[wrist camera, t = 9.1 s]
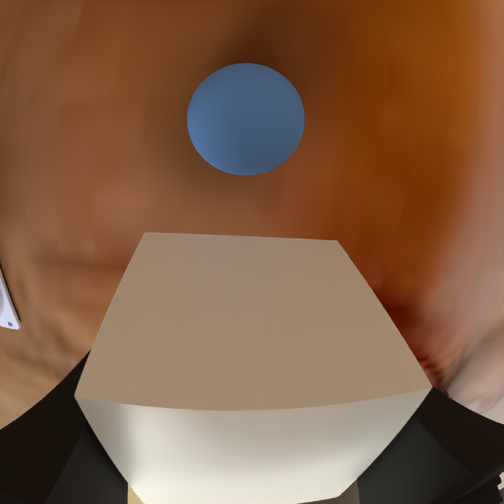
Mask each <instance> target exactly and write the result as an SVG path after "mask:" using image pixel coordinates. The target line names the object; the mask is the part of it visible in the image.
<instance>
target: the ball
mask: <svg viewBox="0 0 504 504" xmlns="http://www.w3.org/2000/svg"><path fill="white" fill-rule="evenodd" d="M304 123H305V115H304V108H303V104H302V101H301V98H300V96H299V94H298V92H297V90H296V89H295V88H294V86H293V85H292V84H291V82H290V81H289V80H288V79H286V78H285V77H284V76H283V75H282V74H280V73H279V72H277V71H275V70H273V69H271V68H269V67H266V66H263V65H259V64H254V63H239V64H233V65H229V66H226V67H223V68H221V69H219V70H217V71H215V72H213V73H212V74H211V75H209V76H208V77H207V78H206V79H205V80H204V81H203V82H202V83H201V84H200V85H199V86H198V88H197V89H196V91H195V92H194V94H193V96H192V98H191V101H190V103H189V107H188V113H187V126H188V132H189V135H190V138H191V141H192V143H193V145H194V147H195V149H196V150H197V151H198V153H199V154H200V155H201V156H202V157H203V158H204V159H205V160H206V161H207V162H208V163H209V164H211V165H212V166H214V167H215V168H217V169H219V170H221V171H224V172H227V173H230V174H235V175H246V176H247V175H257V174H261V173H265V172H267V171H270V170H272V169H274V168H276V167H278V166H279V165H281V164H282V163H283V162H285V161H286V160H287V159H288V158H289V157H290V156H291V155H292V154H293V152H294V151H295V149H296V148H297V146H298V144H299V142H300V140H301V137H302V134H303V130H304Z"/></svg>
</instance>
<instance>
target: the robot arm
mask: <svg viewBox="0 0 504 504" xmlns="http://www.w3.org/2000/svg"><path fill="white" fill-rule="evenodd" d="M0 326H2V327H7V328H12V329H19V328H20V326H21V324H20V321H19V319H18V316H17V314H16V311H15V309H14V306H13V304H12V301H11V298H10V296H9V293H8V290H7V287H6V284H5V281H4V279H3V275H2V272H1V269H0ZM90 351H91V350H90ZM90 351H89V352H88V353H87V354H86V355H85V357H84V358H83V359H82V360H81V361H80V362H79V363H78V364H77V365H76V367H75V368H74V369H73V370H72V371H71V372H70V373H69V374H68V375H67V376H66V377H65V378H64V379H63V380H62V381H61V382H60V383H59V384H58V385H57V386H56V387H55V388H54V389H53V390H52V391H51V392H49V393H48V394H47V395H46V396H45V397H44V398H43V399H42V400H40V401H39V402H38V403H37V404H35V405H34V406H33V407H32V408H31V409H29V410H28V411H27V412H25V413H24V414H23V415H21V416H20V417H19V418H17V419H16V420H14V421H13V422H11V423H10V424H8V425H7V426H5V427H4V428H2V429H1V430H0V504H127V500H128V499H127V494H128V482H127V481H126V480H125V478H124V477H123V475H122V474H121V473H120V471H119V470H118V468H117V467H116V465H115V464H114V463H113V461H112V460H111V458H110V457H109V455H108V453H107V452H106V450H105V449H104V447H103V446H102V444H101V442H100V441H99V439H98V438H97V436H96V434H95V433H94V431H93V429H92V428H91V426H90V424H89V422H88V421H87V419H86V417H85V415H84V413H83V412H82V410H81V408H80V406H79V404H78V402H77V400H76V398H75V396H74V395H75V392H76V389H77V386H78V383H79V380H80V378H81V375H82V372H83V369H84V367H85V364H86V362H87V359H88V356H89V354H90ZM502 472H504V424H501V423H498V422H495V421H493V420H491V419H488V418H486V417H484V416H482V415H480V414H478V413H476V412H474V411H472V410H470V409H468V408H466V407H464V406H463V405H461V404H459V403H458V402H456V401H454V400H453V399H451V398H449V397H448V396H446V395H445V394H443V393H442V392H440V391H439V390H438V389H436V388H435V387H433V386H432V389H431V390H430V391H429V393H428V394H427V396H426V397H425V399H424V400H423V401H422V403H421V404H420V405H419V407H418V408H417V409H416V411H415V412H414V413H413V415H412V416H411V417H410V419H409V420H408V421H407V423H406V424H405V425H404V426H403V428H402V429H401V430H400V431H399V432H398V434H397V435H396V436H395V437H394V438H393V440H392V441H391V442H390V443H389V444H388V446H387V447H386V448H385V449H384V450H383V451H382V452H381V453H380V455H379V456H378V457H377V458H376V459H375V460H374V461H373V462H372V463H371V464H370V465H369V466H368V468H367V469H366V470H365V471H364V472H363V473H362V474H361V475H360V476H359V477H358V478H357V483H358V490H359V501H360V504H504V488H502V489H501V490H499V489H498V487H497V485H499V484H500V483H501V478H500V476H499V475H500V474H501V473H502Z"/></svg>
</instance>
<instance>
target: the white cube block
mask: <svg viewBox="0 0 504 504" xmlns="http://www.w3.org/2000/svg"><path fill="white" fill-rule="evenodd" d="M431 389H432V385H431V383H430V382H429V380H428V378H427V377H426V375H425V373H424V372H423V370H422V368H421V366H420V365H419V363H418V361H417V360H416V358H415V356H414V355H413V353H412V352H411V350H410V348H409V347H408V345H407V343H406V342H405V340H404V339H403V337H402V335H401V334H400V332H399V331H398V329H397V328H396V326H395V324H394V323H393V321H392V320H391V318H390V317H389V315H388V314H387V312H386V311H385V309H384V308H383V306H382V305H381V303H380V302H379V300H378V299H377V297H376V296H375V294H374V293H373V291H372V290H371V288H370V287H369V285H368V284H367V282H366V281H365V279H364V278H363V277H362V275H361V274H360V272H359V271H358V269H357V268H356V266H355V265H354V264H353V262H352V261H351V259H350V258H349V257H348V255H347V254H346V252H345V251H344V250H343V248H342V247H341V245H340V244H339V243H338V241H333V240H314V239H294V238H273V237H251V236H228V235H203V234H176V233H147V232H145V233H144V235H143V237H142V239H141V241H140V243H139V245H138V247H137V249H136V251H135V253H134V255H133V257H132V259H131V261H130V263H129V265H128V267H127V269H126V271H125V273H124V275H123V277H122V279H121V281H120V284H119V286H118V288H117V290H116V292H115V295H114V297H113V299H112V301H111V303H110V306H109V308H108V310H107V313H106V315H105V317H104V319H103V322H102V324H101V327H100V329H99V331H98V334H97V336H96V339H95V341H94V344H93V346H92V349H91V351H90V354H89V356H88V359H87V362H86V364H85V367H84V369H83V372H82V375H81V378H80V380H79V383H78V386H77V389H76V392H75V395H74V396H75V398H76V400H77V402H78V404H79V406H80V408H81V410H82V412H83V413H84V415H85V417H86V419H87V421H88V422H89V424H90V426H91V428H92V429H93V431H94V433H95V434H96V436H97V438H98V439H99V441H100V442H101V444H102V446H103V447H104V449H105V450H106V452H107V453H108V455H109V457H110V458H111V460H112V461H113V463H114V464H115V465H116V467H117V468H118V470H119V471H120V473H121V474H122V475H123V477H124V478H125V480H126V481H127V482H128V484H129V485H130V486H131V488H132V489H133V490H134V492H135V493H136V494H137V496H138V497H139V498H140V499H141V501H142V502H143V503H147V504H297V503H304V502H311V501H317V500H323V499H328V498H334V497H337V496H339V495H340V494H341V493H342V492H343V491H344V490H345V489H346V488H348V487H349V486H350V485H351V484H352V483H353V482H354V481H355V480H356V479H357V478H358V477H359V476H360V475H361V474H362V473H363V472H364V471H365V470H366V469H367V468H368V466H369V465H370V464H371V463H372V462H373V461H374V460H375V459H376V458H377V457H378V456H379V455H380V453H381V452H382V451H383V450H384V449H385V448H386V447H387V446H388V444H389V443H390V442H391V441H392V440H393V438H394V437H395V436H396V435H397V434H398V432H399V431H400V430H401V429H402V428H403V426H404V425H405V424H406V423H407V421H408V420H409V419H410V417H411V416H412V415H413V413H414V412H415V411H416V409H417V408H418V407H419V405H420V404H421V403H422V401H423V400H424V399H425V397H426V396H427V394H428V393H429V391H430V390H431Z"/></svg>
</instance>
